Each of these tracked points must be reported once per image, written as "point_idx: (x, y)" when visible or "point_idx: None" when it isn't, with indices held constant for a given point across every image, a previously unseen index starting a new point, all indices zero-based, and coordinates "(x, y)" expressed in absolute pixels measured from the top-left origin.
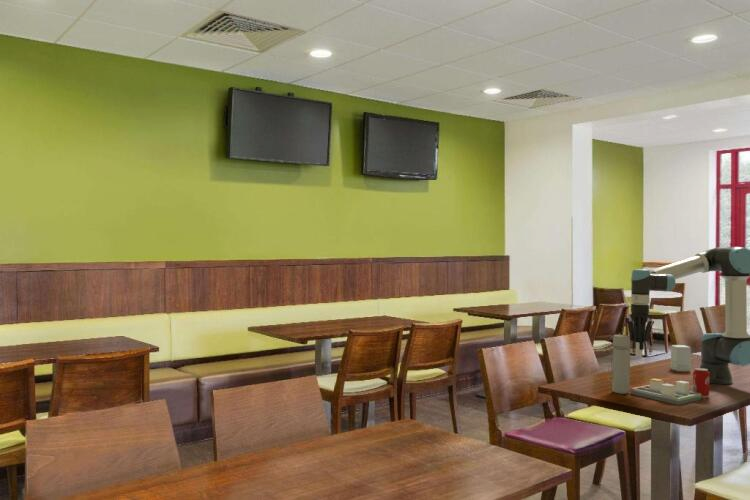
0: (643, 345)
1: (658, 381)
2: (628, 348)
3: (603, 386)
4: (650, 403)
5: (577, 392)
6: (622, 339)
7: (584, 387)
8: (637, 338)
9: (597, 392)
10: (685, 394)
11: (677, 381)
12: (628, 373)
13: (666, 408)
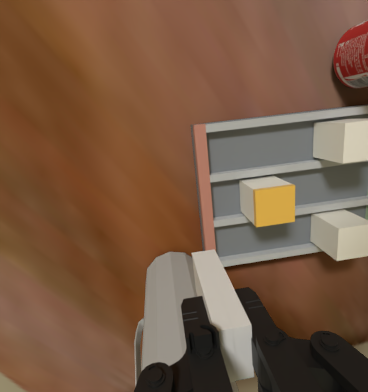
0: (266, 316)
1: (293, 219)
2: None
3: (75, 262)
4: (308, 292)
5: (117, 383)
6: None
7: (66, 328)
8: (207, 380)
9: (141, 335)
10: (358, 162)
11: (345, 153)
12: None
13: (361, 293)
